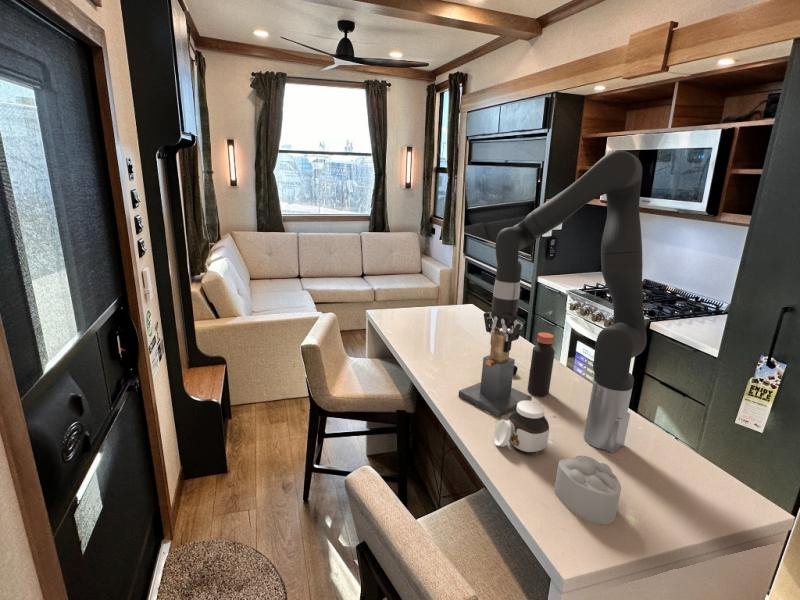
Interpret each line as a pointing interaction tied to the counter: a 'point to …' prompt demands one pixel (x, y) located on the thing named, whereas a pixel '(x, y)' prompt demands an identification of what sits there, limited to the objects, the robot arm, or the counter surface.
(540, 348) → the bottle
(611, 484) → the lumpy-topped squat cylinder
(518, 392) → the metal sleeve stand
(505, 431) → the spread jar
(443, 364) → the counter surface
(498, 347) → the oak post
